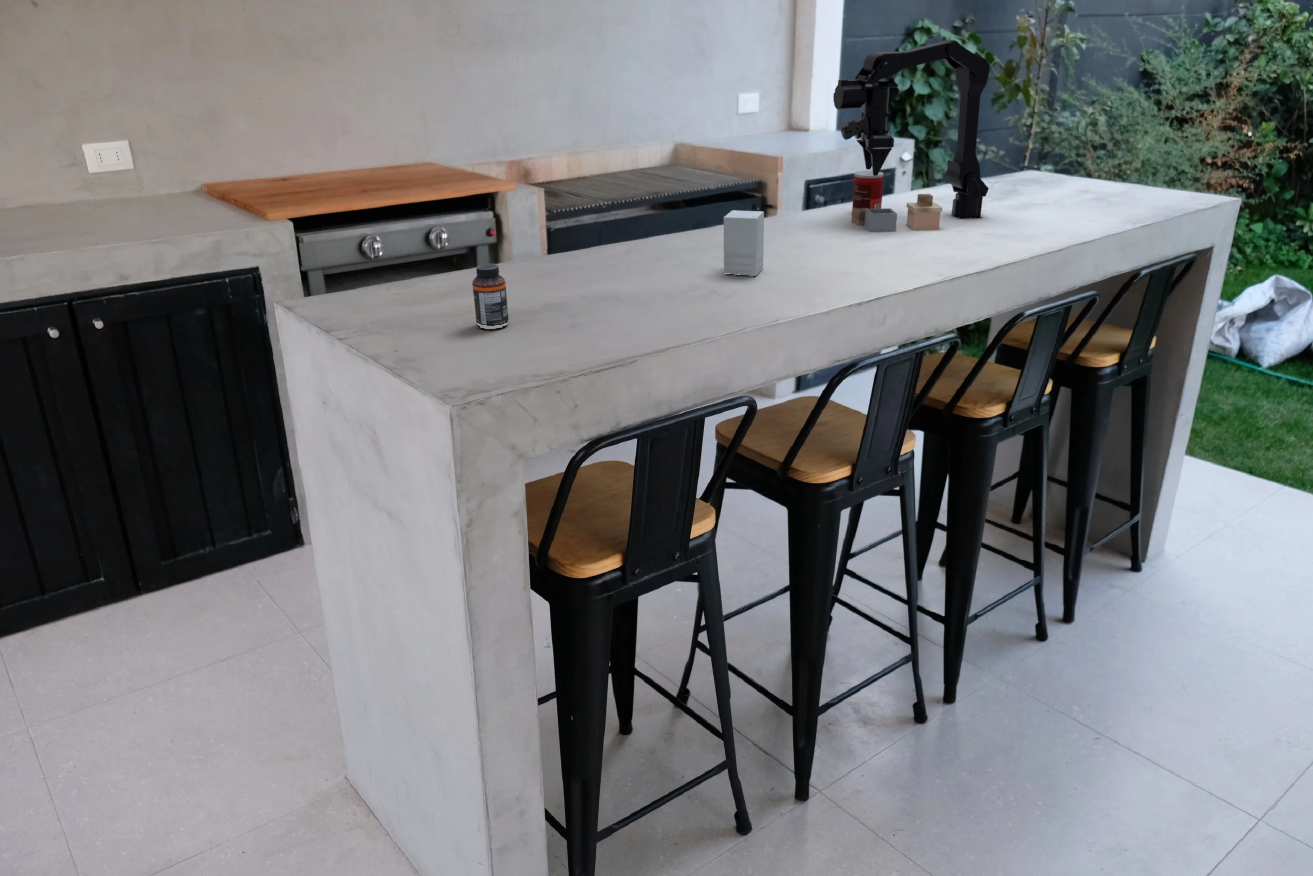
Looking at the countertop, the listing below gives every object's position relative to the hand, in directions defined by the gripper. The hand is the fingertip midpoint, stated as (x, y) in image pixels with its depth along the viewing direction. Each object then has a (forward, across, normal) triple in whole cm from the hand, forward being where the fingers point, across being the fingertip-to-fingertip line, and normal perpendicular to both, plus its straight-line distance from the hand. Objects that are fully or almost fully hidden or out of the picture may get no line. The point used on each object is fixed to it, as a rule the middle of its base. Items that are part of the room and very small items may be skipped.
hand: (871, 172), depth 249 cm
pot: (+13, +6, +12) cm, 19 cm away
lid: (+8, +6, +12) cm, 16 cm away
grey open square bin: (+13, +7, +2) cm, 15 cm away
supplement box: (+13, +44, -35) cm, 58 cm away
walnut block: (+13, 0, -2) cm, 13 cm away
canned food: (+14, -13, +2) cm, 19 cm away
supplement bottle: (+13, +80, -84) cm, 117 cm away
